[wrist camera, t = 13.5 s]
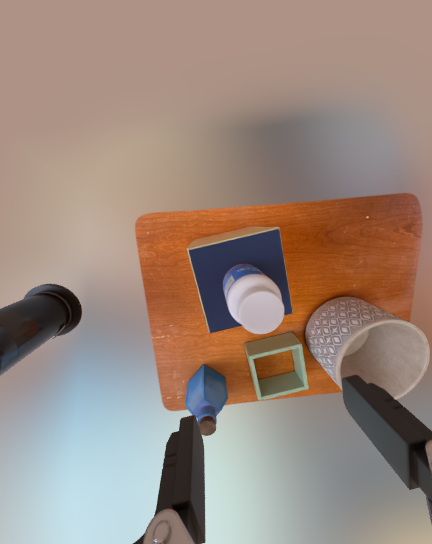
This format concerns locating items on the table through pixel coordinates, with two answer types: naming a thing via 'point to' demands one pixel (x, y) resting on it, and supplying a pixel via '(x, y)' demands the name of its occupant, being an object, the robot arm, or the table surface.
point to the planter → (367, 345)
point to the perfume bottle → (206, 398)
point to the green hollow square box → (284, 381)
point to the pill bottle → (253, 299)
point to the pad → (224, 256)
